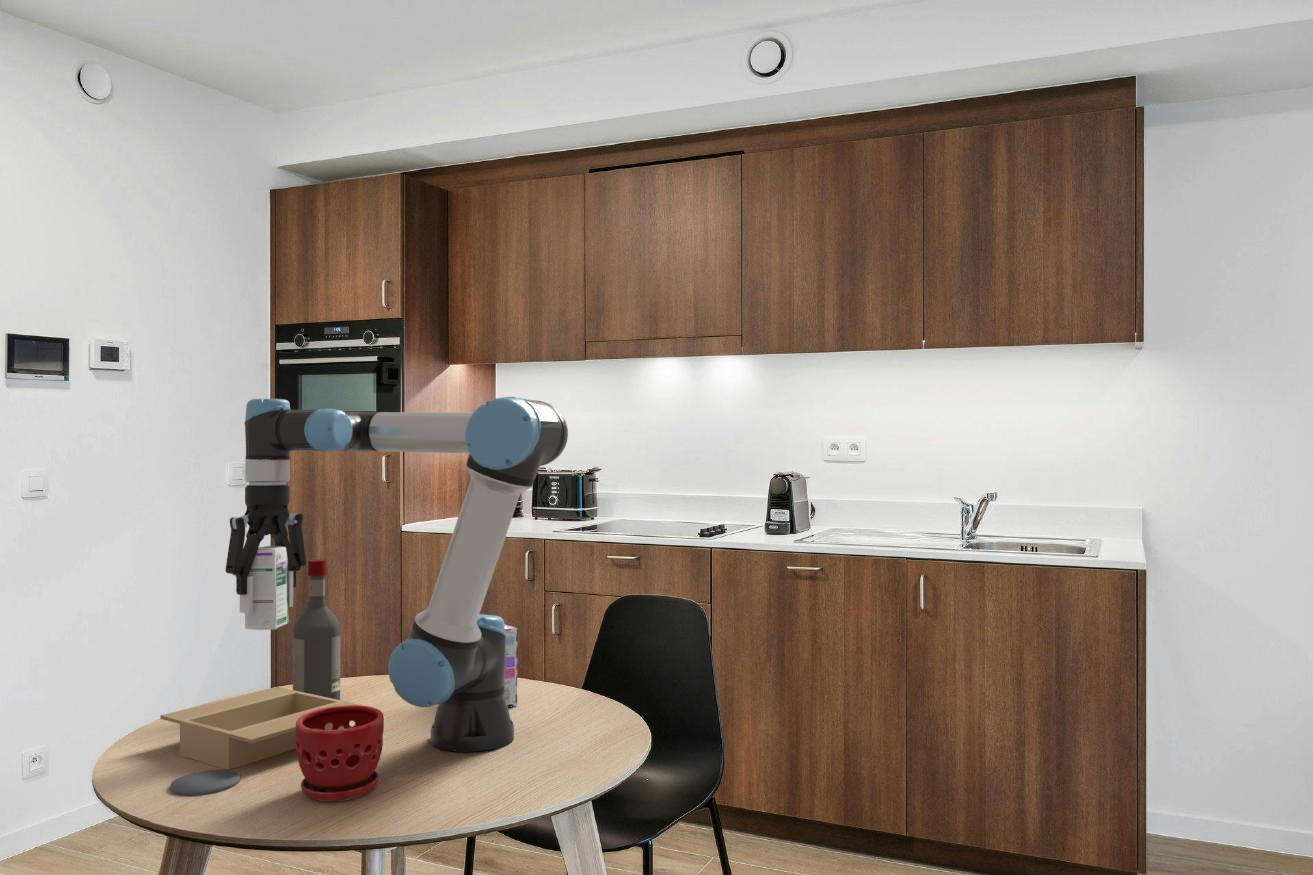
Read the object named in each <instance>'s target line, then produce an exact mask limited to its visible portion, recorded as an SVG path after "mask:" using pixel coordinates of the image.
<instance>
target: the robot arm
mask: <svg viewBox="0 0 1313 875" xmlns="http://www.w3.org/2000/svg"><path fill="white" fill-rule="evenodd" d="M290 405H291V404H290V402H289V400H287V399H284V398H283V399H282V398H252V399H250V400H248V401H247V403H246V406H245V407H246V408H245V417H244V418H245V419H244V430H245V431H244V432H245V434H244V435H245V437H244V438H245V460H244V461H245V465H244V466H245V469H244V470H245V472H244V474H245V475H244V477H245V479H244V480H245V482H246V483H248V484H247V485H246V486H245V487H244V504H245V506H246V511H245V513H244V514H243V515H242V516H238V517H237V516H236V517H233V516H232V517H230V518H229V527H230V536H229V542H228V549H227V550H228V551H227V555H226V556H227V558H226V564H225V568H224V569H225V572H226V573H227V574H230V575H232V576H235V582H236V584H235V585H236V586H235V587H236V589H235V592H236V595H239V613H241V614H245V613H248V614H250V613H253V576H248V575H249V572H250V570H251V567H252V564H253V561H254V559H255V556H256V553H257V550H258V547H260V544H261V542H262V541H263V540H264V539H265V536H269V535H270V537H271V538H272V539H273V540H274V543H275V546H283V547H286V552H287V556H288V602H289V608H292V607H294V588H296V587H297V571H300V570H301V567H305V566H306V564H307V558H306V550H305V544H304V535H303V528H302V525H303V519H304V516H303V514H302V513H295V512H290V511H289V508H288V507H289V504H290V493H291V492H290V491H291V490H290V486H289V484H287V482H289V481H290V480H291V473H290V472H291V470H290V468H291V467H290V465H291V463H290V462H291V461H290V459H291V458H290V457H291V456H290V455H291V452H295V451H296V452H297V451H298V452H321V453H326V452H327V453H331V452H365V453H366V452H395V453H396V452H397V453H399V452H400V453H403V452H404V453H438V454H439V453H440V454H468V457H467V460H466V463H465V467H466V469H467V472H468V473H469V475H470V480H469V483H468V487H467V489H466V494H465V496H464V499H463V502H462V505H461V507H460V512H459V515H458V516H457V520H456V523H455V526H454V528H453V531H452V535H451V537H450V541H449V544H448V547H447V549H446V552H445V556H444V558H443V562H442V564H441V567H440V570H439V573H438V576H437V580H436V583H435V585H434V589H433V591H432V594H431V598H430V601H429V603H428V606H427V608H426V609H424V610H423V611H419V613H417V614H416V615H415V617H414V620H413V623H412V626H411V629H410V631H409V635H408V638H407V639H405V640H404V641H401V642H399V644H398V645H397V646H396V647H395V648H394V650H393V651H392V653H391V654H390V657H389V661H388V668H387V669H388V677H389V681H390V683H391V684H392V685H393V687H394V688H393V689H394V691H395V692H396V694H397V695H398V697H400V698H401V699H402V700H404V702H406V703H408V704H410V705H411V706H414V707H419V708H429V707H433V706H436V705H438V706H437V709H436V713H435V717H434V720H433V724H432V725H431V727H430V744H431V745H432V746H433V747H434V748H437V749H440V750H442V751H450V752H456V753H457V752H461V753H462V752H463V753H467V752H470V753H471V752H482V751H488V750H494V749H498V748H501V747H504V746H506V745H508V744H510V743H511V742H512V741H513V740H514V738H515V726H514V723H513V722H514V721H513V720H512V719H511V716H510V715H511V714H510V711H509V707H507V703H506V700H505V638H506V633H505V625H506V624H505V621H504V619H503V617H501V616H500V615H499V616H498V615H493V614H483V613H482V614H480V613H481V610H482V608H483V604H484V602H485V598H486V595H487V592H488V590H489V587H490V585H491V581H492V578H493V575H494V572H495V569H496V566H497V563H498V560H499V558H500V555H501V551H502V548H503V546H504V542H505V540H506V536H507V534H508V531H509V528H510V525H511V522H512V519H513V517H514V513H515V511H516V507H517V504H518V502H519V498H520V495H521V494H522V493H523V492H525V491H528V490H530V489H531V488H533V486H534V483H535V479H536V477H537V474H538V470H539V467H542V466H546V465H549V464H550V463H552V462H554V461H556V460H557V459H558V458H559V457H560V456H561V455H562V453H563V452H564V450H565V448H566V446H567V443H568V438H569V430H568V425H567V421H566V420H565V417H564V416H563V414H562V413H561V412H560V411H559V410H558V409H557V407H555V406H553V405H552V404H550V403H548V402H545V401H541V400H532V399H526V398H520V397H516V396H506V397H505V396H504V397H498V398H493V399H490V400H488V401H486V402H484V403H482V404H481V405H479V406H478V407H477V408H476V409H475V410H474V412H439V411H438V412H429V411H428V412H425V411H424V412H421V411H420V412H414V411H411V412H409V411H403V412H401V411H399V412H398V411H397V412H395V411H393V412H392V411H391V412H390V411H389V412H388V411H384V412H383V411H381V412H378V411H344V410H341V409H335V408H320V409H319V408H318V409H316V408H314V409H313V408H312V409H310V408H309V409H291V406H290ZM286 523H287V528H286ZM248 526H249V527H248ZM247 527H248V529H247V532H246V528H247ZM245 538H246V540H245Z"/></svg>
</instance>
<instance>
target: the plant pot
mask: <svg viewBox="0 0 1313 875" xmlns="http://www.w3.org/2000/svg"><path fill="white" fill-rule="evenodd" d="M384 721H385V717H384V713H383V712H382V710H380V709H378V708H375V707H373V706H370V705H369V706H367V705H365V706H363V704H360V705H344V706H333V707H327V708H322V709H318V710H315V711H312V712H309V713H307V714H305V715H303V716H301V717H300V718H299V719H298V720H297V722H296V756H297V761H298V765H299V769H300V771H301V773H302V775H303V777H304V778H303V779H302V781H301V783H300V788H301V791H302V792H303V793H304V794H305V796H307V797H309V798H310V799H312V800H316V801H320V802H332V803H333V802H343V801H349V800H355V799H357V798H359V797H362V796H364V795H366V794H369V792H371V791H372V790H374V788H375V787H376V786H377V785H378V784H379V783H378V782H379V779H380V776H379V773H378V771H376V769H377V767H378V765H379V762H380V759H381V756H382V753H383V752H382V751H383V745H384V741H383V740H384V739H383V737H384V736H383V735H384V729H385V722H384ZM350 722H354V725H352V726H351V725H350ZM328 723H332V725H333V728H332V729H331V730H325V725H326V724H328ZM340 726H343V727H344V729H339V727H340ZM317 729H319V730H317ZM338 729H339V730H338Z"/></svg>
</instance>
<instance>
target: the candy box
mask: <svg viewBox="0 0 1313 875" xmlns="http://www.w3.org/2000/svg"><path fill="white" fill-rule="evenodd" d="M518 628H519V627H518ZM518 628H517V627H514V626H511V625H507V624H505V633H506V638H505V700H506V703H507V707H508V708H512V707H511V706H514V707H517V706H518Z"/></svg>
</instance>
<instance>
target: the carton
mask: <svg viewBox="0 0 1313 875" xmlns="http://www.w3.org/2000/svg"><path fill="white" fill-rule="evenodd" d="M344 705H361V704H359V703H355V702H350V701H344V700H341V699H340V700H336V699H332V698H327V697H322V696H318V695H313V694H308V693H304V692H299V691H294V690H293V689H289V688H285V687H280V686H276V687H272V688H271V687H270V688H267V689H263V690H258V691H254V692H251V693H246V694H243V695H242V694H241V695H238V696H234V697H229V698H225V699H221V700H218V701H213V702H209V703H206V704H205V703H204V704H201V705H198V706H193V707H189V708H185V709H181V710H177V711H173V712H169V713H165V714H164V713H163V714H161V715H160V716H159V718H160V720H163V721H167V722H170V723H175V724H179V756H181V757H184V758H188V759H192V760H195V761H198V762H201V763H205V764H209V765H211V766H214V767H218V768H222V769H223V770H232V769H235V768H239V767H242V766H245V765H248V764H251V763H255V762H258V761H260V760H264V759H267V758H270V757H273V756H276V755H280V754H283V753H286V752H289V751H292V750H295V749H296V722H297V720H298V719H299V718H300V717H301V716H303V715H305V714H307V713H309V712H312V711H315V710H318V709H322V708H327V707H333V706H344ZM362 705H363V704H362ZM363 706H366V705H365V704H364V705H363ZM332 728H333V725H332V723H328V724H326V725H325V730H331V729H332ZM339 729H344V727H343V726H340V727H339ZM339 729H338V730H339ZM317 730H319V729H317Z"/></svg>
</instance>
